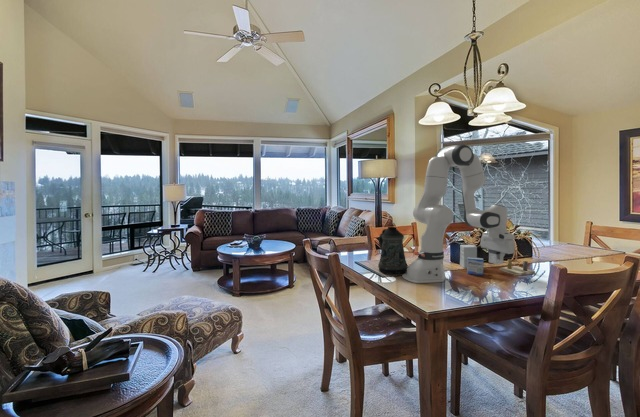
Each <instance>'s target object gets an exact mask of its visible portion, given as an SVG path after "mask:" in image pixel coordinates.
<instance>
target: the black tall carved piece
mask: <svg viewBox="0 0 640 417" xmlns="http://www.w3.org/2000/svg"><path fill="white" fill-rule="evenodd" d="M404 238H405V235H404V234H403V233H402V232H400V231H399V230H398V229H397V227H396V226H395V227H394V226H387V228H384V229H382V231H381V233H380V234H379V237H378V245H379V248H380V251H381V253H380V256H379V261H378V264H377V265H378V266H377V267H378V271H379V272H380V273H381V274H385V275H393V276H394V275H395V276H398V275H403V274H407V268H408V266H409V264H408V263H407V260H406V255H405V250H404V248H405V247H404V242H403V240H404Z"/></svg>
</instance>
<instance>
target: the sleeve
mask: <svg viewBox="0 0 640 417" xmlns="http://www.w3.org/2000/svg"><path fill="white" fill-rule="evenodd" d="M500 255H501V254H500V252H499V251H495V250H489V253H488V263H490V264H494V265H503V264H504V259H503V260H499V259H498V258H499V256H500Z"/></svg>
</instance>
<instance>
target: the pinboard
mask: <svg viewBox="0 0 640 417" xmlns="http://www.w3.org/2000/svg"><path fill="white" fill-rule="evenodd" d="M512 263H513V260H512V259H510V258H509V259H507V266H504V267H499V268H498V269H499V271H501V272H505V273H508V274H512V275H515V276H526V275H532V274H533V275H534V274H536V271H535V270H533V269H528V265H529V264H528V263H529V262H528V261H526V260H524V261H523V262H522V263H523V264H522V265H523V266H522V267H521V266H519V265H512Z"/></svg>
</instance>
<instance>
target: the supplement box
mask: <svg viewBox="0 0 640 417" xmlns="http://www.w3.org/2000/svg"><path fill="white" fill-rule="evenodd" d="M459 248H460V249H459V266H461V267H462V269H463V268H464V269H467V259H468V257H472V258H478V247H477V246H476V245H474V244H460V245H459Z"/></svg>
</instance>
